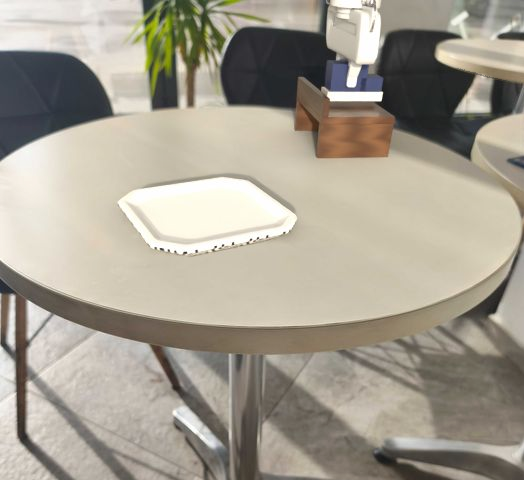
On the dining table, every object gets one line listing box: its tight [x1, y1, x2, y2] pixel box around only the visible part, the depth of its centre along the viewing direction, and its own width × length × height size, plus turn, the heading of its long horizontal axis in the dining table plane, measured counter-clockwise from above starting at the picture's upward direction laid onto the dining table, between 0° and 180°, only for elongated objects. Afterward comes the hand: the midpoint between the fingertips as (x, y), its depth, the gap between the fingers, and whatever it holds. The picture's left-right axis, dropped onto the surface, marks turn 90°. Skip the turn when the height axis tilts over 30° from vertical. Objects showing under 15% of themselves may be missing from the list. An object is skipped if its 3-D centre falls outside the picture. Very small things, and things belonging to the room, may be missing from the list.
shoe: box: [320, 59, 384, 102], centre depth 95 cm, size 11×5×6 cm, turn 100°
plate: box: [117, 176, 298, 257], centre depth 68 cm, size 21×21×2 cm
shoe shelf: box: [293, 76, 396, 159], centre depth 99 cm, size 14×20×10 cm
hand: (345, 83), depth 95 cm, fingers closed on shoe, 4 cm apart
